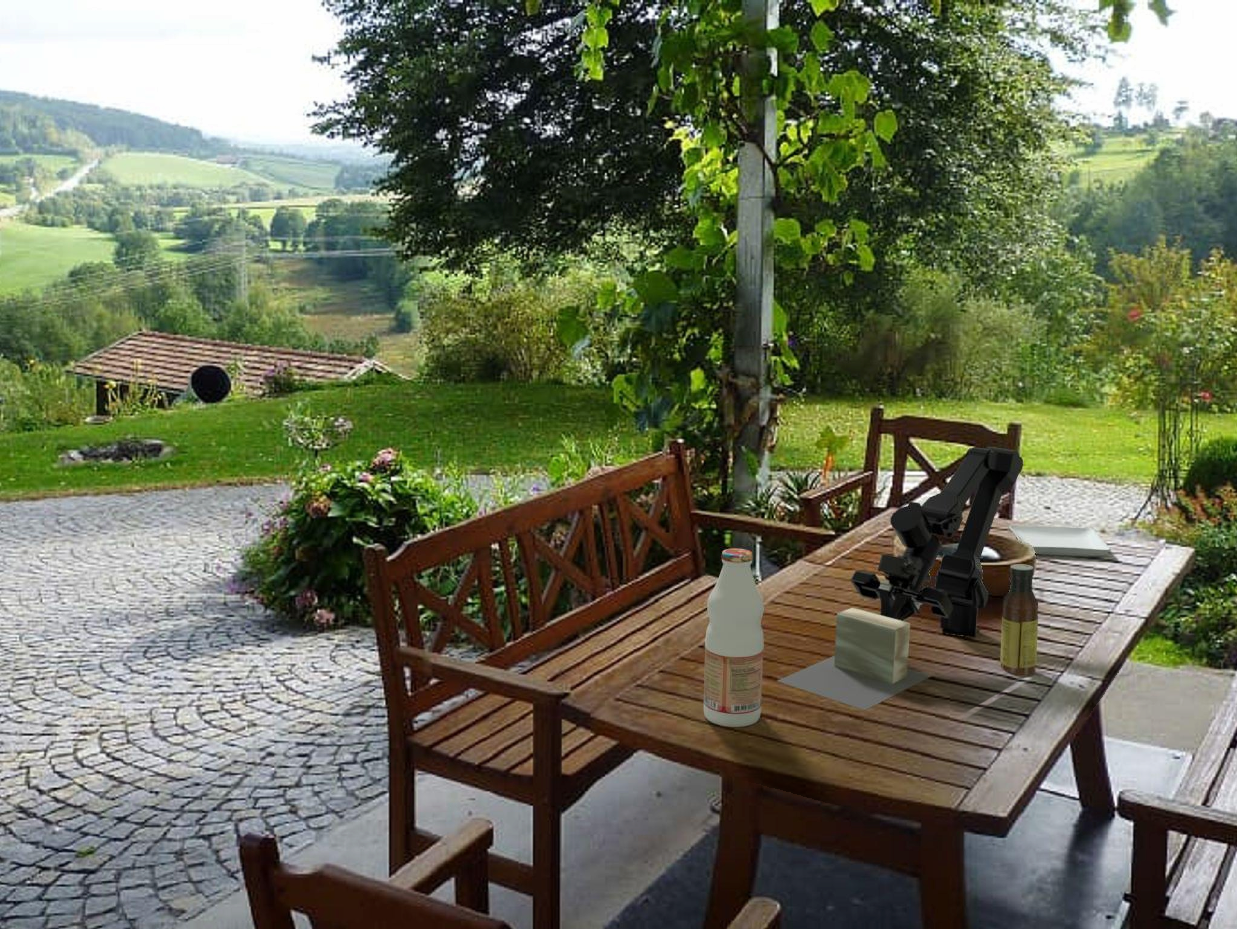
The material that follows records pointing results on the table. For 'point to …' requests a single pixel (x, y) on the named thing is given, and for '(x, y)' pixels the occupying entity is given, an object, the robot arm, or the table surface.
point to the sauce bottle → (1019, 623)
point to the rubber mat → (849, 684)
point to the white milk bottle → (734, 645)
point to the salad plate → (1062, 540)
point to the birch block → (872, 645)
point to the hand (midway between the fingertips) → (881, 631)
